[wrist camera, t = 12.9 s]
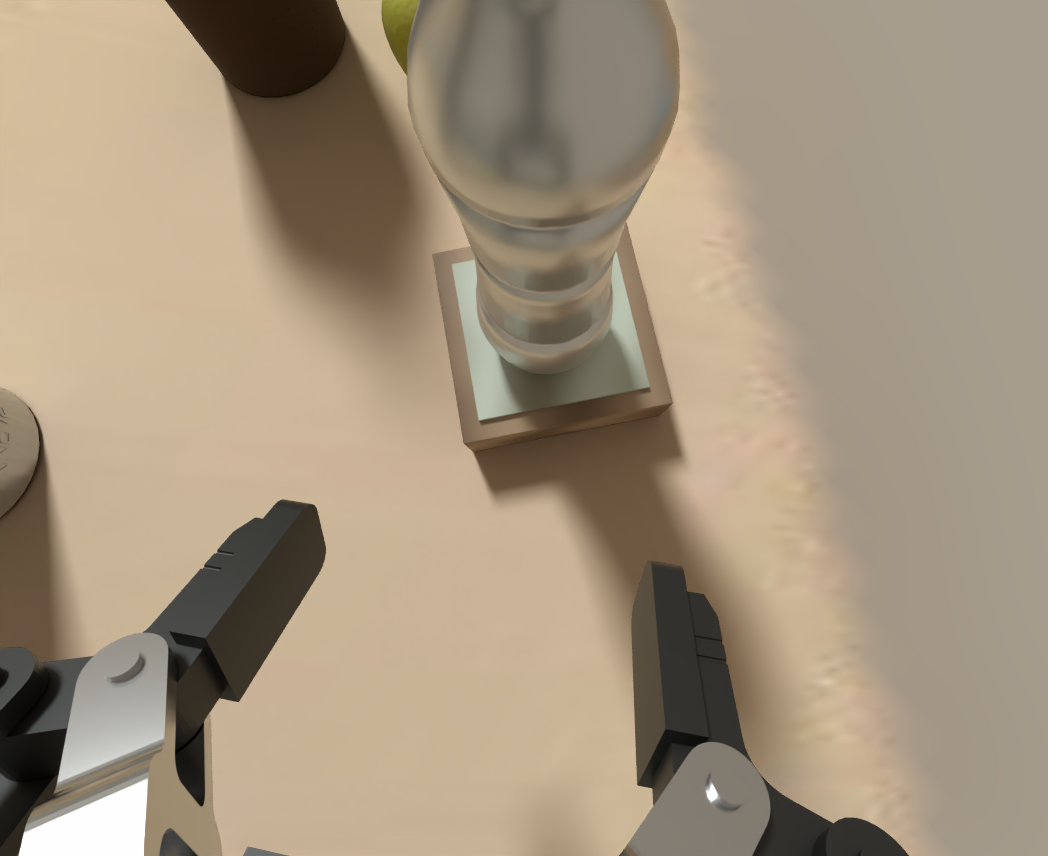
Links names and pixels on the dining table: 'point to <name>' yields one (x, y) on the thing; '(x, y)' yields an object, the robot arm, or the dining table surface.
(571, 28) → the plastic bottle
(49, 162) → the dining table surface
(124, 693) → the robot arm
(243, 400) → the dining table surface
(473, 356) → the walnut base
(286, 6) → the olive oil
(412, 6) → the apple
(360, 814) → the dining table surface
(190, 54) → the dining table surface
